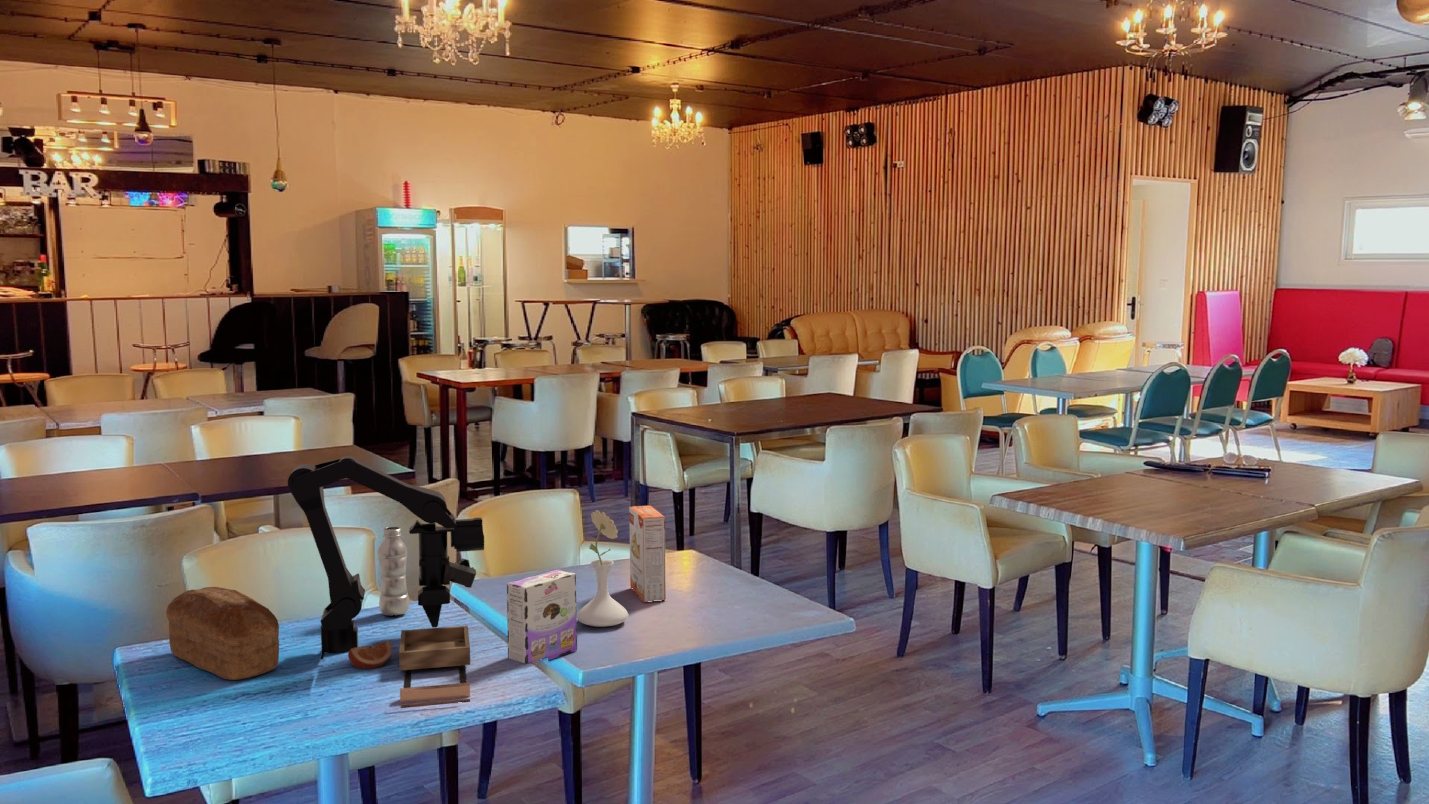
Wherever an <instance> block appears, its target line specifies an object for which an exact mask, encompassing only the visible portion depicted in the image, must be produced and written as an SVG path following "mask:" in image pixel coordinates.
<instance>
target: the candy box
mask: <svg viewBox="0 0 1429 804" xmlns="http://www.w3.org/2000/svg"><path fill="white" fill-rule="evenodd" d="M506 600H507V601H506V607H507V609H506V610H507V611H506V612H507V613H506V614H507V616H506V617H507V619H506V621H507V658H508V659H509V660H512V661H516V662H519V663H522V664H525V665H526V664H529V663H533V662H537V661H540V660H542V659H545V658H547V661H551V660H554V659H557V658H560V657H562V656H565V655H567V654H571V653H573V652H576V651H578V628H577V627H578V625H577V620H578V618H577V615H578V613H577V575H576V573H574V572H570V571H566V570H562V569H555V570H552V571H547V572H544V573H540V574H537V575H533V576H529V577H526V578H525V577H524V578H522V579H518V580H517V579H516V580H515V581H511V582H507V583H506Z"/></svg>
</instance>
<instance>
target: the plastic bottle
mask: <svg viewBox="0 0 1429 804" xmlns="http://www.w3.org/2000/svg"><path fill="white" fill-rule="evenodd" d="M401 531H402V529H401V527H399V526H387V527H384V528H383V538H384V539H383V540H382V542H381V544H380V545H379V546H378V549H377V558H378V563H379V569H380V581H381V583H380V584H381V585H380V595H379V602H378V604H379V610H380V612H381V614H382V615H384V616H392V617H393V615H395V616H400V615H405V614H406V613H407V612H408V611H409V609H410V597H409V593H408V587H407V580H406V579H407V575H406V574H407V569H406V568H407V559H408V548H407V546H406V544H405V543H404V541H403V540H402V539H401V537H402V532H401Z"/></svg>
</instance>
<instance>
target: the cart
mask: <svg viewBox="0 0 1429 804" xmlns="http://www.w3.org/2000/svg"><path fill="white" fill-rule="evenodd" d="M469 634H470V633H469V625H457V626H446V627H445V626H444V627H443V626H442V627H430V628H417V629H404V630H403V629H402V630H401V632H400V641H399V649H398V650H399V652H398V654H399V655H398V656H399V657H398V659H399V661H398V662H399V663H398V664H399V671H405V670H411V669H412V670H422V669H423V670H424V669H433V668H434V669H436V668H442V667H443V668H445V667H446V668H447V667H459V666H460V665H465V666H470V665H471V643H470V635H469Z"/></svg>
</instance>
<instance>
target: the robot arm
mask: <svg viewBox="0 0 1429 804" xmlns="http://www.w3.org/2000/svg"><path fill="white" fill-rule="evenodd" d="M345 479H348V480H351V481H353V482H355V483H358V484H359V485H362V486H363V487H365V488H368V489H370V490H372V491H375V492H376V493H378V494H381V495H383V496H385V497H388V498H389V499H391V500H393V501H395V502H397V503H399V504H401V505H402V506H404V507H405V508H406V509H407V510H408V511H410V513H412V514H413V515H415V516H416V517H417V518H419V519H420V520H422V521H423V522H425V523H422V522H421V521H419V519H416V520H415V522H414V523H413V524H412V525H411V526H410V527H409V528H408V532H409V534H411V535H414V534H415V535H417V534H418V566H419V567H418V568H419V569H418V570H419V572H418V585H419V587H421V588H420V589H419V590H418V592H417V606H421V607H422V608H423V611H424V612H425V614H426V617H427V618H428V619H427V620H428V621H429V623H430V626H431V628H439V627H438V626H439V621H440V618H441V617H440V616H441V611H442V606H443V605H448V604H450V603H451V590H450V588H448V586H449V585H451V583H454V584H457V585H461V586H464V587H465V588H468V589H469V588H470V589H471V588H472V586H473V585H474V580H475V578H476V575H477V570H476V568H474V567H473V566H471V565H470V560H469V559H466V558H461V559H460V561H459V562H456V561H454V562H452V561H450V556H449V555H448V552H449V551H448V549H449V548H448V533H449V534H450V548H453V549H454V550H456V551H455V552H456V553H460V552H462V553H463V552H475V551H484V550H485V534H484V527H483V518H482V517H472V518H461V519H458V518H457V519H456V517H455V516H454V513H452V512H451V511H450V509H449V508H448V506H447V500H446V498H445V496H444V495H443V494H442V493H441V492H439V491H437V490H433V489H430V488H426V487H422V486H418V485H412V484H408V483H407V482H404V481H402V480H400V479H398V478H396V477H394V476H391V475H390V474H388V473H386V472H383V471H381V470H379V469H377V468H374V467H372V466H370V465H369V464H366V463H364V462H362V461H361V460H358V459H357V458H356V457H354V456H353V455H344V456H342V457H340V458H337V459H334V460H333V459H332V460H329V461H324V462H321V463H317V464H314V465H313V464H312V463H302V464H298V465H297V466H296V467H295V468H294V469H293V470H292V472H291V473H290V474H289V476H288V478H287V487H288V490H289V491H290V493H291V495H292V497H293V498H294V500H295V502H296V504H297V505H298V507H300V509H301V510H302V511H303V513H304V514H305V517H306V520H307V523H308V525H309V528H310V531H311V534H312V537H313V539H314V542H315V545H316V549H317V552H318V554H319V556H320V560H321V564H322V566H323V568H324V570H325V573H326V576H327V581H328V594H329V600H330V601H329V604H328V605H327V606H326V607H325V608H324V609H323V613H322V615H321V618H320V639H321V640H320V643H321V645H320V647H321V653H320V656H319V657H320V660H322V659H324V656H325V654H335V655H336V654H343V653H347V652H348V653H349V650H350V649H352V648H356V647H359V629H358V627H357V626H356V625H355V622H356V621H355V620H352V619H355V618H356V617H357V616H358V615H360V613H361V611H362V606H363V601H364V599H365V593H366V589H365V588H364V587H363V584H362V582H361V577H360V573H356V574H354V575H352V574H351V572H350V571H349V570H348V567H347V564H346V562H345V560H344V556H343V554H342V551H341V548H340V545H339V541H338V538H337V537H336V533H335V531H334V528H333V525H332V522H331V519H330V516H329V513H328V511H327V508H326V504H325V493H324V487H326V486H328V485H331V484H333V483H336V482H338V481H341V480H345ZM436 524H438V525H439V526H437V525H436Z"/></svg>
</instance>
